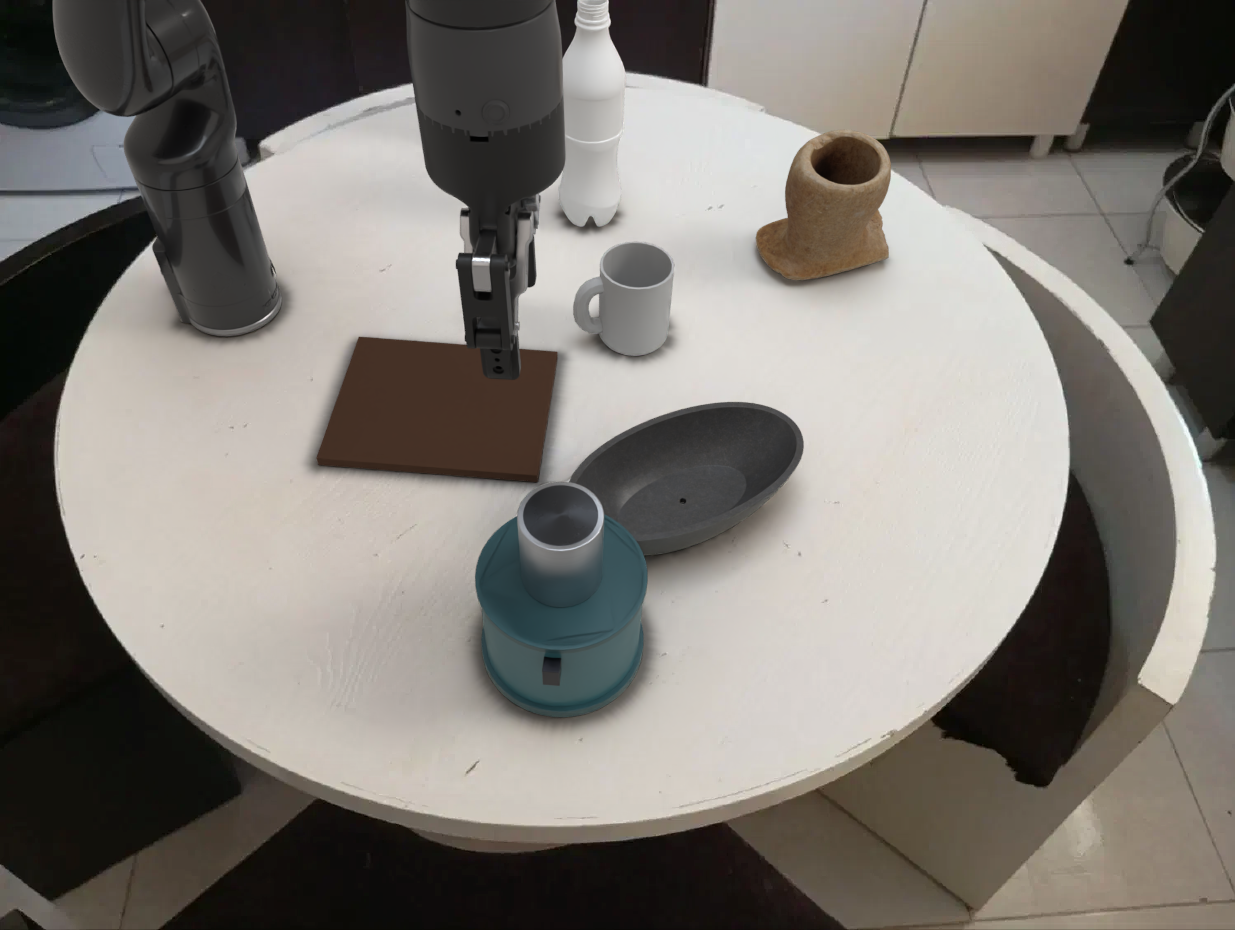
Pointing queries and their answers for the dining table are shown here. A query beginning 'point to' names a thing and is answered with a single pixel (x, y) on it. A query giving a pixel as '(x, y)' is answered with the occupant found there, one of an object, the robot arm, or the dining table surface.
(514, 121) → the robot arm
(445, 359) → the mat
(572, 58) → the water bottle
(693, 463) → the bowl
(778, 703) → the dining table surface
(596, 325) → the cup
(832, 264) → the stone cup
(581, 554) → the silver cup
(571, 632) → the teal round canister
